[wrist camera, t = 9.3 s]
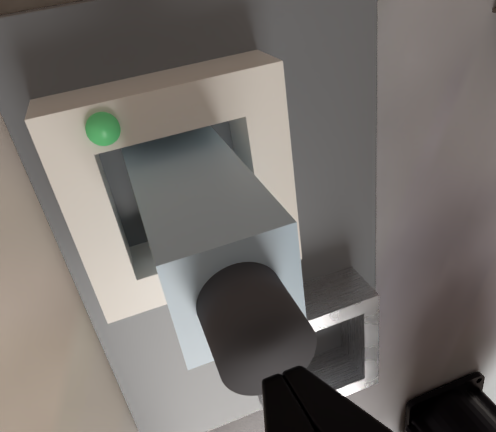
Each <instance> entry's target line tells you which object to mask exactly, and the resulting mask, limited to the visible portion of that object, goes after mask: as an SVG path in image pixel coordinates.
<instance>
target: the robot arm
mask: <svg viewBox="0 0 496 432" xmlns="http://www.w3.org/2000/svg"><path fill="white" fill-rule="evenodd" d="M484 379H485V377H484V376H483V375H482V374H481V373H480V372H475V373H473V374H471V375H468V376H466V377H464V378H461V379H459V380H457V381H454V382H452V383H450V384H447V385H445V386H443V387H440V388H438V389H436V390H433V391H431V392H429V393H426V394H424V395H422V396H419V397H417V398H415V399H412V400H411V401H409V402H408V404H407V406H406V419H405V432H496V405H495V404H494V403H493V402H492V401H491V399H490V398H489V397H488V396H487V395H486V394H485V393H484V392H483V391H482V389H483V384H484ZM262 396H263V409H264V423H265V432H393V431H392V430H390V429H389V428H388V427H386V426H385V425H383V424H382V423H381V422H379V421H378V420H377V419H375V418H374V417H372V416H371V415H370V414H368V413H367V412H365V411H364V410H363V409H361V408H360V407H359V406H357V405H356V404H354V403H353V402H352V401H350V400H349V399H348V398H346V397H345V396H343V395H342V394H341V393H339V392H338V391H337V390H335V389H334V388H332V387H331V386H330V385H328V384H327V383H325V382H324V381H323V380H321V379H320V378H319V377H317V376H316V375H314V374H313V373H312V372H310V371H309V370H308V369H306V368H305V367H303V366H300V365H299V366H295V367H293V368H290V369H288V370H285V371H283V373H282V375H281V374H279V373H277V374H275V375H272V376H269V377H267V378H264V379H263V380H262Z"/></svg>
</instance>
